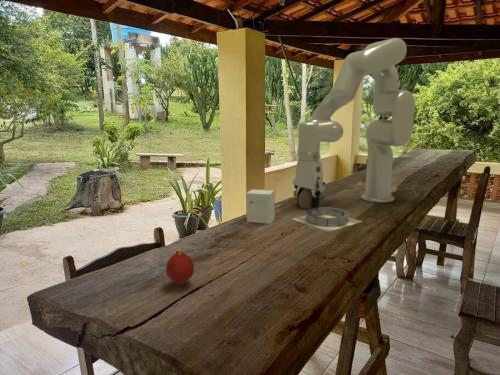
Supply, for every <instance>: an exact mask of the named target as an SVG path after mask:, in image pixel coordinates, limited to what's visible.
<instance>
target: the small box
mask: <svg viewBox="0 0 500 375" xmlns="http://www.w3.org/2000/svg"><path fill="white" fill-rule="evenodd" d="M245 195H246V200H245V201H246V225H251V223H258V224H269V225H271V224H272V223H273V222H274V221H275V219H276V218H275V212H276V211H275V190H267V189H250V190H249V191H247V192H246V193H245Z"/></svg>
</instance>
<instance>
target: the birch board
mask: <svg viewBox="0 0 500 375" xmlns="http://www.w3.org/2000/svg"><path fill="white" fill-rule="evenodd" d="M317 217H324V218H337V217H336V216H329V215H318V216H317ZM292 220H294V221H296V222H299V223H302V224H306V225H308V226H310V227H313V228H316V229H318V230H322V231H323V232H324V231H325V232H327V233H329V232H331V231H335V230H339V229H342V228H347V227H350V226H353V225H356V224H360V223H363V221H362V220H358V219H355V218H352V217H349V221H348V223H347V224H346V225H342V226H338V227H324V226H316V225H313V224H310V223H308V222H307V221H306V220H305V215H302V216H297V217H293V218H292Z"/></svg>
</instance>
